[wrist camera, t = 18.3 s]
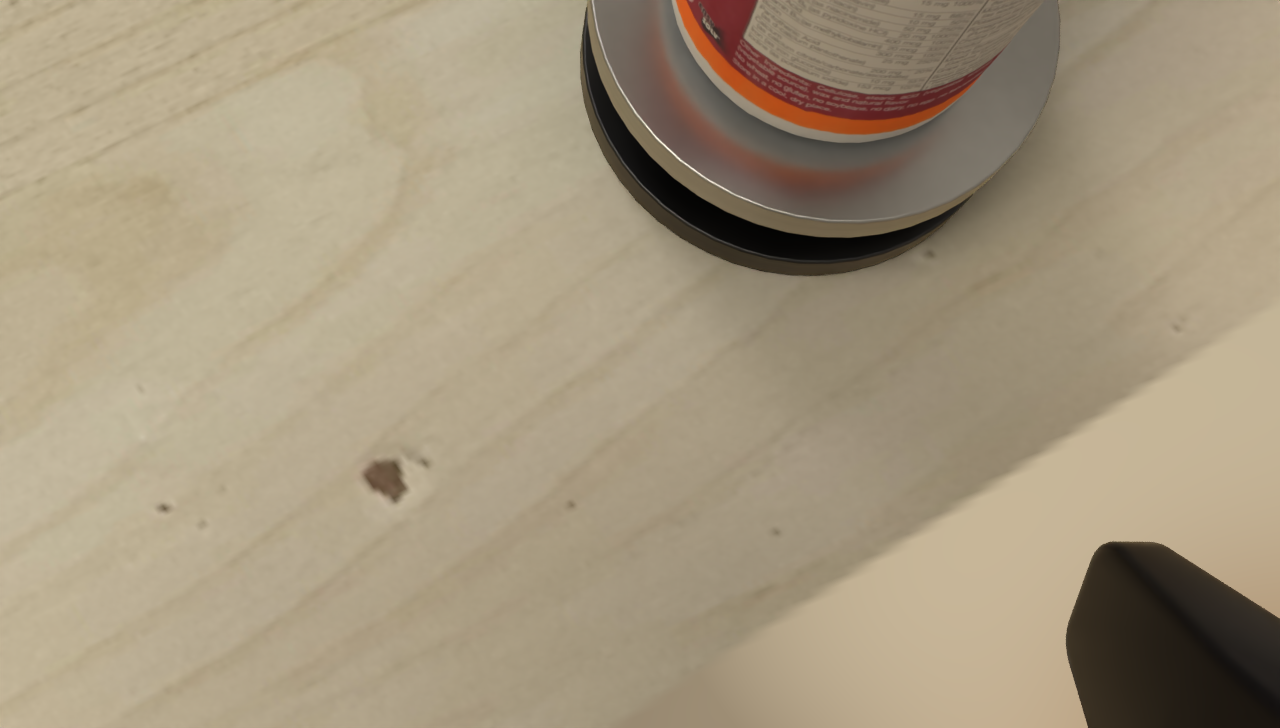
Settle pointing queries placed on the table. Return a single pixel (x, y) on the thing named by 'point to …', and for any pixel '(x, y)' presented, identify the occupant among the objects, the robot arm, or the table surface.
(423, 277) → the table surface
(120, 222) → the table surface
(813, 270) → the stand
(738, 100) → the pill bottle
